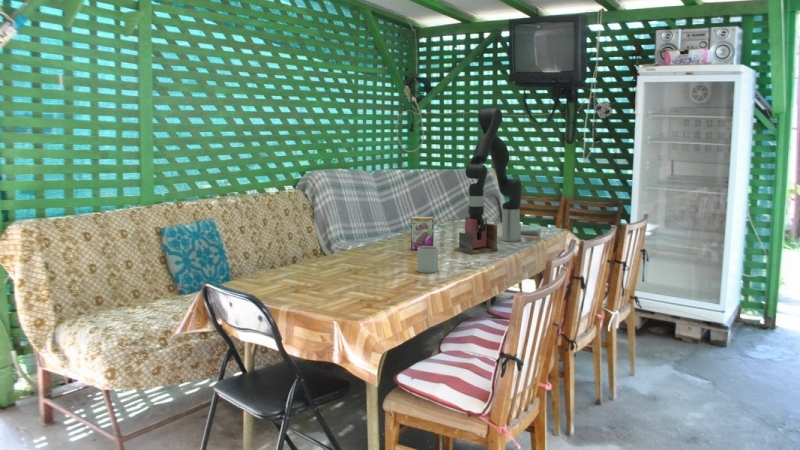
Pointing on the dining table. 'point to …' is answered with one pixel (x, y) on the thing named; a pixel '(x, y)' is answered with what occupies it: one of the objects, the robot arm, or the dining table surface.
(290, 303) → the dining table surface
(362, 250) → the dining table surface
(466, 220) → the burgundy book
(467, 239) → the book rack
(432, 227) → the candy bar box
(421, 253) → the mug
